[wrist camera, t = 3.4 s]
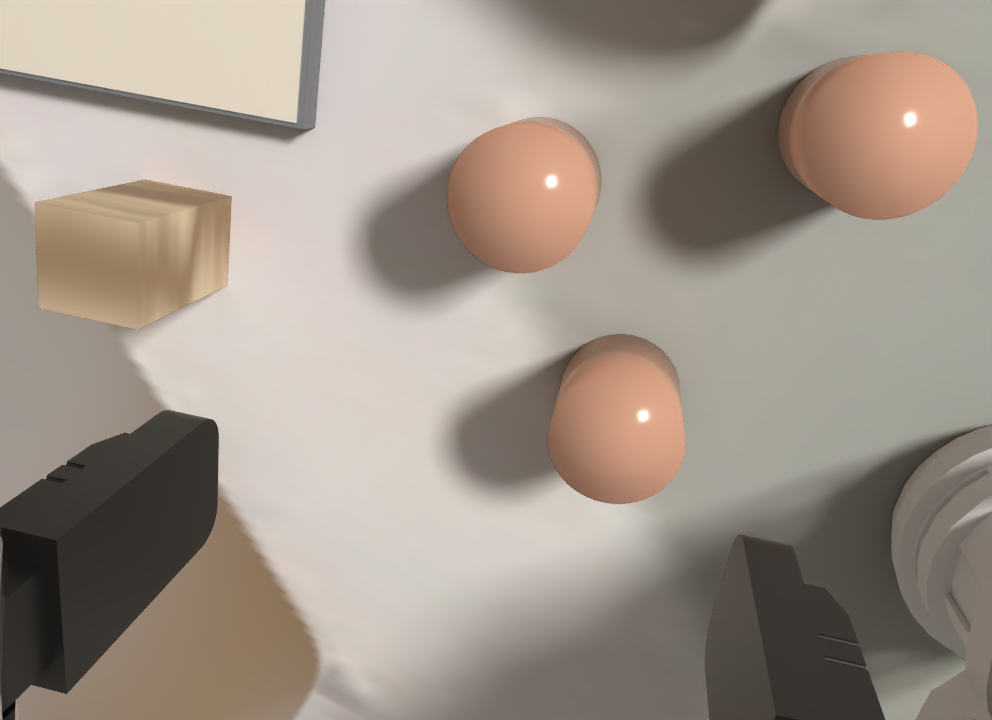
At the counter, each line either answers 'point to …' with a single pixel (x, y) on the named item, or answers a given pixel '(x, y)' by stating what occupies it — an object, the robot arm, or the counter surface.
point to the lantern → (951, 567)
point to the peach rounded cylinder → (879, 133)
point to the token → (131, 251)
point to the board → (175, 52)
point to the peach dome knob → (524, 194)
